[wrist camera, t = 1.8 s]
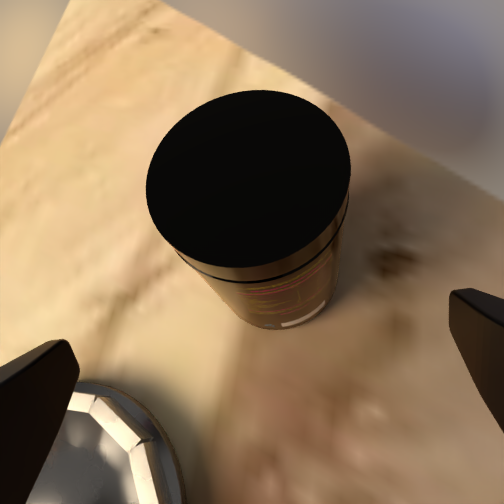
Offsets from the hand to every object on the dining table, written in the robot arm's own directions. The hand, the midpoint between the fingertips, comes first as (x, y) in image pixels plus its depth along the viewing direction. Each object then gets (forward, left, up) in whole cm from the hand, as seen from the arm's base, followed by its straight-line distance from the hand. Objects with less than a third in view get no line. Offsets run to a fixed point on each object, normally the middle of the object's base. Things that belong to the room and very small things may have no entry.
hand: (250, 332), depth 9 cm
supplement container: (+5, -2, -12) cm, 13 cm away
